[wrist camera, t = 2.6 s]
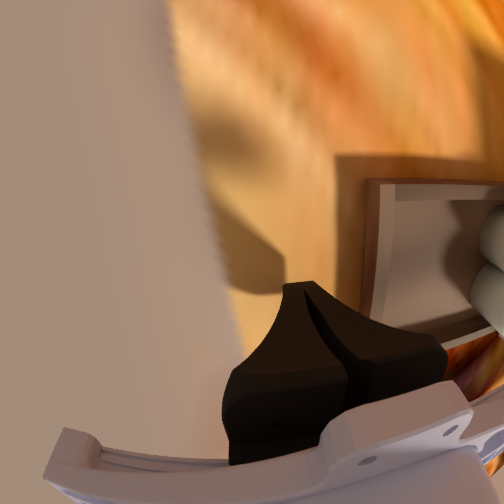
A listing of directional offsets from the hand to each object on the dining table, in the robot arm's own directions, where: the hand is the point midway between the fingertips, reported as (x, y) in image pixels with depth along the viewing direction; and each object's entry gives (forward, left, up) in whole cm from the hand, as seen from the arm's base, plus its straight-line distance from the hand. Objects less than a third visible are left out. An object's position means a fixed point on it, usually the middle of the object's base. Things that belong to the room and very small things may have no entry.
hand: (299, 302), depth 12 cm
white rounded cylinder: (-2, -13, -1) cm, 14 cm away
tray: (0, -10, -2) cm, 11 cm away
